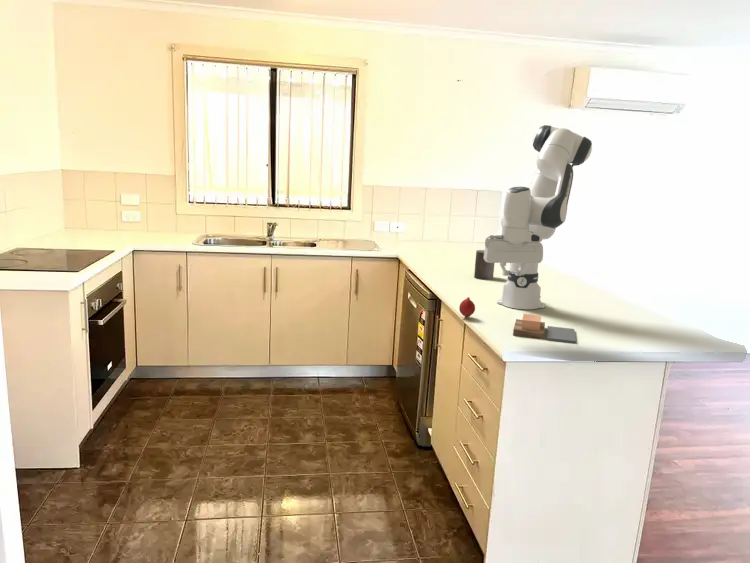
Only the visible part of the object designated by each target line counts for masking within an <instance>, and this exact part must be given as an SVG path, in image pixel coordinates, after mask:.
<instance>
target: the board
mask: <svg viewBox="0 0 750 563" xmlns="http://www.w3.org/2000/svg"><path fill="white" fill-rule="evenodd" d="M545 325H546V322H544V321H541V323H540V331H539V330H530V329H522V319H520V318H519V319H517V318H516V319H515V322H514V326H513V329H512V330H513V331H512V335H513V336H516V337H522V338H523V337H524V338H532V339H540V340H544V339H545V330H546V329H545Z"/></svg>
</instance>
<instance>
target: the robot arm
mask: <svg viewBox="0 0 750 563" xmlns="http://www.w3.org/2000/svg"><path fill="white" fill-rule="evenodd" d="M592 145H593V143H592V140H590V139H589V138H588V137H586V136H582V135H581V134H577V133H575V132H574V131H572V130H570V129H569V128H565V127H562V128H558V127H553V126H552V125H550V124H547V125H545V124H544V125H541V126H539V128H538V129H537V130H536V131H535V133H534V136H533V138H532V147H533V149H534V150H535V151H536V152H538V155H537V158H536V167H537V169H536V171H535V173H534V175H533V177H532V179H531V182H530V183H529V187H527V186H514V187H513V186H512V187H511V188H508V189H507V192H506V194H505V197H504V205H503V215H502V217H501V219H500V220H501V221H500V225H501V235H500V234H497V235H491V234H490V235H489V236H487V237H486V238H485V241H484V247H485V248H484V250H485V251H484V260H485V261H486V262H488V263H494V264H495V263H496V264H498V263H499V266H500V268H501V270H502V273H501V274H502V276H504V277H507V281H506V282H504V283H503V284H502V295H501V297H500V298H499V299H498V300H497V301H496V304H499V305H502V306H505V307H507V308H512V309H517V310H536V309H544V308H545V305H544V303H543V302H542V300H541V290H542V289H541V287H540V285H539V272H538V270H539V264H541V263H542V261H543V260H544V259H543V258H544V245H543V243H542V241H543V240H549V239H550V238H551V237H553V235H554V234H555V232H556V229H557V228H558V227H560V226H561V225H563V224H564V223H565V221H566V218H567V214H568V213H567V212H568V203H569V199H570V195H571V191H572V190H571V189H572V185H573V181H574V169H573V167H576V166H579V165H580V166H581V165H582V164H584V162H586V161H587V160H588V159H589V157H590V156H591V153H592V151H593V150H592V149H593V146H592ZM507 264H509V270H508V269H506V266H507Z"/></svg>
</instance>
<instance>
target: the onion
mask: <svg viewBox="0 0 750 563" xmlns="http://www.w3.org/2000/svg"><path fill="white" fill-rule="evenodd" d="M458 308H459V312H460V314H461V315H462V316H464V317H465V319H466V318H467V319H468V318H470V317H471V316H472V315H473V314H474V313H475V311H476V305H475V303H474V302H473V301H472V300H471V298H470V296H468V297H466V298H465V299H464V300H462V301H461V302H460V304H459V307H458Z"/></svg>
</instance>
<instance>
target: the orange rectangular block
mask: <svg viewBox="0 0 750 563" xmlns="http://www.w3.org/2000/svg"><path fill="white" fill-rule="evenodd" d="M522 314H523V315H522V319H521V320H522V329H530V330H539V331H540V323H541V322H542V315H539V314H532V313H522Z"/></svg>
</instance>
